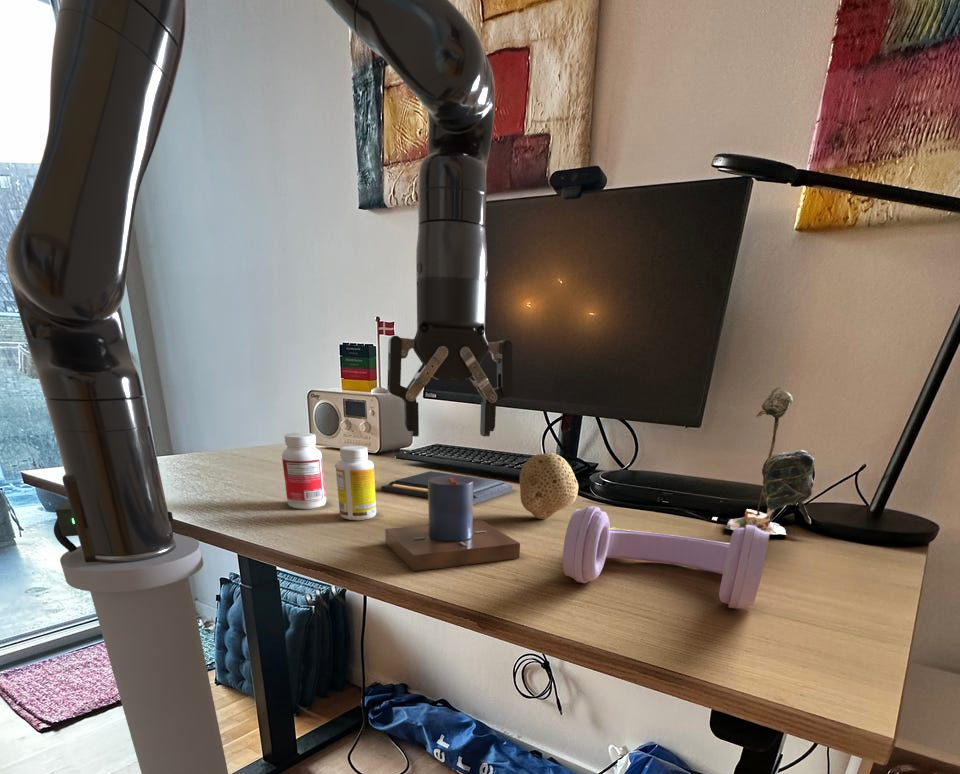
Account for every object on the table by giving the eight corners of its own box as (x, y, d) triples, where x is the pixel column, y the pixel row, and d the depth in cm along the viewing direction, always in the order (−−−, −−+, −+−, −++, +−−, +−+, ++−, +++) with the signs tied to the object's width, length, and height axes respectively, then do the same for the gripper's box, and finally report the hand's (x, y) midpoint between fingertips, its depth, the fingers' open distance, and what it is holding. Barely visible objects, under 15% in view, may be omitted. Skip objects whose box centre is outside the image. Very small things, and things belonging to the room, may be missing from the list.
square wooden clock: (414, 571, 71) (413, 553, 70) (385, 543, 80) (384, 527, 79) (519, 558, 76) (520, 541, 75) (480, 533, 86) (481, 518, 85)
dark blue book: (515, 480, 111) (470, 494, 99) (515, 490, 112) (470, 506, 100) (429, 468, 121) (378, 479, 109) (429, 477, 121) (379, 490, 110)
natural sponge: (578, 514, 97) (584, 450, 92) (570, 528, 89) (577, 459, 85) (523, 509, 99) (526, 446, 94) (511, 523, 91) (514, 455, 87)
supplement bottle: (382, 514, 94) (379, 446, 90) (365, 522, 89) (360, 451, 85) (351, 510, 96) (346, 444, 91) (332, 518, 91) (326, 448, 87)
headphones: (562, 520, 62) (609, 466, 78) (559, 603, 68) (603, 537, 83) (768, 547, 55) (775, 482, 70) (746, 637, 61) (757, 558, 76)
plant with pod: (800, 546, 83) (841, 390, 75) (717, 531, 89) (746, 386, 81) (810, 533, 90) (849, 388, 81) (731, 520, 95) (760, 384, 87)
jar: (426, 530, 79) (425, 473, 76) (468, 528, 80) (469, 473, 77) (431, 542, 74) (430, 482, 71) (476, 540, 75) (477, 481, 72)
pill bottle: (299, 499, 102) (292, 431, 97) (333, 502, 101) (327, 433, 96) (280, 507, 96) (271, 436, 92) (315, 511, 95) (308, 438, 90)
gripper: (505, 285, 69) (499, 432, 76) (381, 277, 66) (386, 431, 73) (525, 278, 63) (516, 440, 70) (388, 269, 60) (393, 440, 67)
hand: (450, 435), depth 71 cm, fingers open, 8 cm apart
